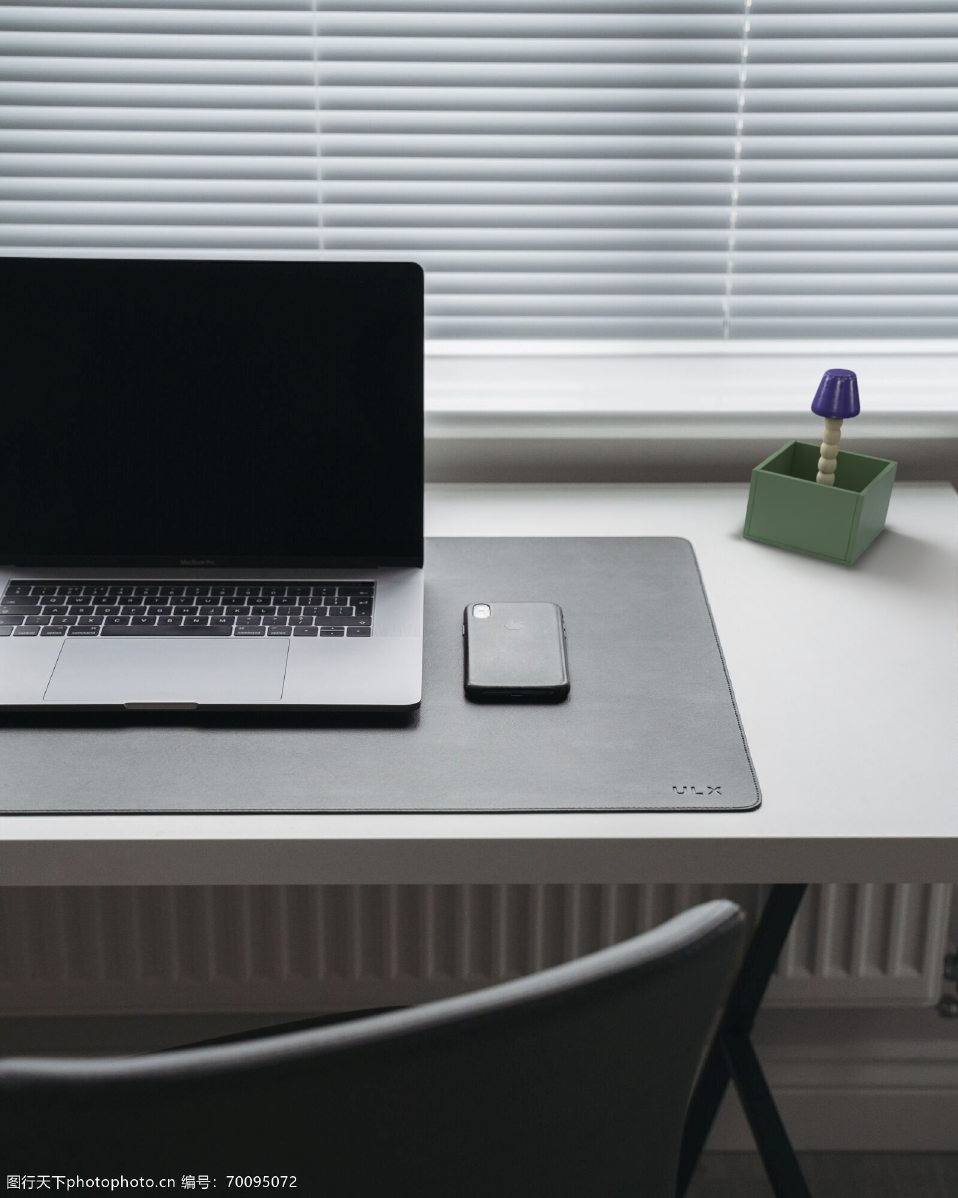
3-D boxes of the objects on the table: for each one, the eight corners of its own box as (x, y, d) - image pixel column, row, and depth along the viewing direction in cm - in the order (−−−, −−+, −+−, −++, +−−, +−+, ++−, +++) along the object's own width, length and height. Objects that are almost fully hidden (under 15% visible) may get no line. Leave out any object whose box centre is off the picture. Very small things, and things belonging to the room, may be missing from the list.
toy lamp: (792, 536, 112) (819, 377, 105) (789, 518, 116) (814, 363, 109) (841, 540, 112) (872, 380, 104) (836, 522, 116) (865, 366, 108)
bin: (883, 529, 116) (898, 461, 112) (849, 567, 108) (864, 496, 104) (781, 504, 121) (792, 438, 118) (742, 538, 113) (752, 469, 110)
